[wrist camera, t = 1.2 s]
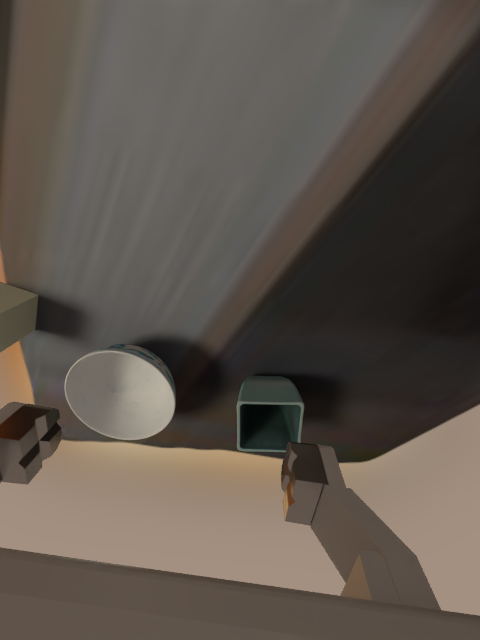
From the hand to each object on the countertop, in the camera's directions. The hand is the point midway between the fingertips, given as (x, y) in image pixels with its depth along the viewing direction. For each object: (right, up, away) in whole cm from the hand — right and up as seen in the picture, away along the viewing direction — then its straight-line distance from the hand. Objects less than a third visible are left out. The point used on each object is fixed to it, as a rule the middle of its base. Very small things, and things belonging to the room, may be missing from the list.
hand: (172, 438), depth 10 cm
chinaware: (-14, -3, +37) cm, 39 cm away
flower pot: (+7, -7, +37) cm, 39 cm away
